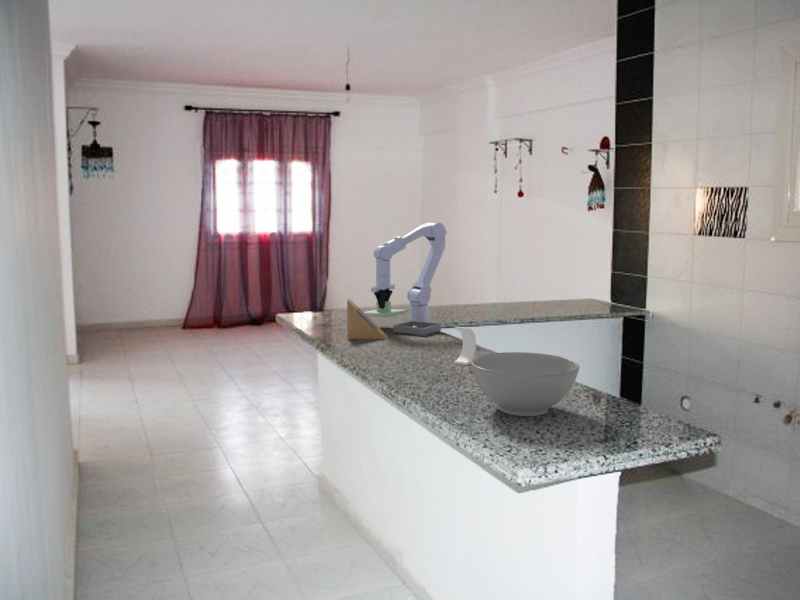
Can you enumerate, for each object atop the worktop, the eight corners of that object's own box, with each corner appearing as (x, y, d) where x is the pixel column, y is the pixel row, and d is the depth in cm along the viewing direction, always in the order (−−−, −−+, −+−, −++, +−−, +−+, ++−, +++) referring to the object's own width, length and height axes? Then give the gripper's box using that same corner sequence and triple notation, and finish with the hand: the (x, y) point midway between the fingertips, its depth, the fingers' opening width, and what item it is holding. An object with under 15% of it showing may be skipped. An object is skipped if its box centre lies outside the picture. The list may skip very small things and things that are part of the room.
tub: (410, 328, 311) (410, 320, 310) (440, 330, 304) (440, 323, 303) (393, 333, 299) (393, 325, 298) (424, 336, 292) (424, 328, 291)
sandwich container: (387, 339, 286) (387, 300, 284) (347, 339, 285) (347, 300, 283) (387, 335, 294) (387, 297, 292) (348, 335, 294) (348, 297, 292)
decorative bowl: (448, 405, 192) (449, 359, 191) (524, 391, 208) (525, 348, 206) (522, 432, 171) (523, 380, 169) (600, 413, 186) (602, 365, 184)
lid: (379, 312, 318) (378, 299, 317) (407, 313, 310) (406, 300, 310) (360, 316, 306) (359, 303, 305) (388, 317, 298) (388, 303, 298)
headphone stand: (454, 363, 243) (454, 327, 241) (463, 360, 248) (464, 324, 246) (466, 365, 240) (467, 328, 239) (475, 362, 245) (476, 325, 243)
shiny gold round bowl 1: (413, 328, 307) (413, 325, 307) (418, 328, 306) (418, 326, 305) (410, 329, 305) (410, 326, 304) (415, 329, 304) (415, 326, 303)
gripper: (381, 277, 298) (381, 310, 300) (400, 274, 310) (400, 306, 312) (366, 276, 302) (366, 309, 303) (386, 273, 314) (386, 305, 316)
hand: (383, 308), depth 308 cm, fingers closed on lid
